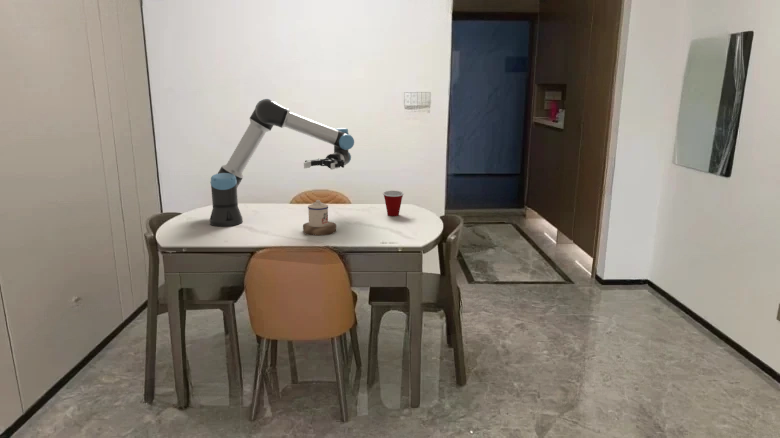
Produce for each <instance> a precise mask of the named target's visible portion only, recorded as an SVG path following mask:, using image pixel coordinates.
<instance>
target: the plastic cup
mask: <svg viewBox="0 0 780 438" xmlns="http://www.w3.org/2000/svg"><path fill="white" fill-rule="evenodd" d="M404 194H405V192H403V191H400V190H385V191H383V192H382V195H383V198H384V201H385V202H384V203H385V208H386V213H387V216H389V217H398V216H399V215H400V210H401V205H402V200H403V196H404Z"/></svg>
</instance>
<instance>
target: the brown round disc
mask: <svg viewBox="0 0 780 438" xmlns="http://www.w3.org/2000/svg"><path fill="white" fill-rule="evenodd" d="M302 232H303V234H306V235H308V236H309V235H310V236H328V235H333V234H335V233H336V232H337V224H336V222H334V221H330V220H328V226H326V227H319V228H316V227H310V226H309V221H308V222H305V223H304V224H303V225H302Z"/></svg>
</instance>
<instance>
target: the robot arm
mask: <svg viewBox="0 0 780 438" xmlns="http://www.w3.org/2000/svg"><path fill="white" fill-rule="evenodd" d="M274 126H275V127H279V128H283V129H284V128H287V129H289V130H292V131H295V132H298V133H301V134H302V135H307V136H309V137H311V138H314V139H317V140H319V141H322V142H325V143H327V144H330V145H333V152H332V153H329V154H327V155H326V157H324V158H315V159H309V160H308V159H307V160H304V162H303V169H308V168H311V167H316V166H318V167H319V166H320V167H327V168H328V169H330V170H335V169H339V168H345V166H346V165H348V164H349V163H350V162H351V160H352V155H351V153H350V151H349V150H350V149H352V148H353V147H354V145H355V139H354V137H353V136H352V134H349V130H348V128H347V127H337V128H333V127H330V126H327V125H325V124H322V123H320V122H317V121H314V120H313V119H310V118H308V117H304V116H301V115H299V114H297V113H294V112H292V111H290V109H289V108H287V107H284V106H282V105H281V104H280V103H278V102H276V101H275V100H272V99H269V98H264V99H261V100H259V101H258V102H257V104H256V106H255V108H254V109H253V112H252V113H251V115H250V117H249V124H248V127H247V128H246V130H245V132H244V133H243V135H242V137H241V138H240V140H239V142H238V144H237V146H236V147H235V149H234V151H233V152H232V154H231V156H230V157H229V160H228V161H227V163H226V164H224V165H221V167H220V169H219V171H218V172H217V173H216V174H213V175H212V176H211V177H210V181H209V182H210V189H211V198H212V199H211V203H212V208H211V212H210V213H211V214H210V218H209V224H210V225H211V226H214V227H231V226H237V225H241V224H243V223H244V222H243V216H242V213H241V211H240V207H239V203H238V187H239V185H240V184H241V182H242V180H243V179H244V176H243V172H244V171H245V169H246V167H247V165H248V164H249V162H250V161H251V158H252V157H253V156H254V153H255V152H256V150H257V148H258V147H259V145H260V144H261V141H262V139H263V138H264V136H265V134H266V133H267V132H271V130H272V129H273V127H274Z"/></svg>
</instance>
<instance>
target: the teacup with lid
mask: <svg viewBox="0 0 780 438" xmlns="http://www.w3.org/2000/svg"><path fill="white" fill-rule="evenodd" d="M307 209H308V222H309V226H310V227H316V228H319V227H326V226H328V221H329V205H328V204H326V203H324V202H322V201H321V200H320V199H316V200H315V202H313V203H311V204H309V205H308V206H307Z"/></svg>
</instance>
